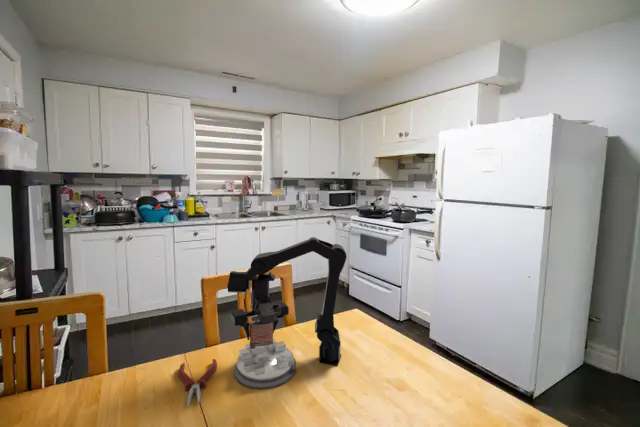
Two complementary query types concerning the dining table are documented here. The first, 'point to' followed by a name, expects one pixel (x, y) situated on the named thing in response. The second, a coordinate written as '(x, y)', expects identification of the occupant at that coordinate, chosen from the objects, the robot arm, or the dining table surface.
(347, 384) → the dining table surface
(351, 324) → the dining table surface
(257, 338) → the lighter
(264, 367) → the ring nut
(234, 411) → the dining table surface
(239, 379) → the base plate
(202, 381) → the pliers
